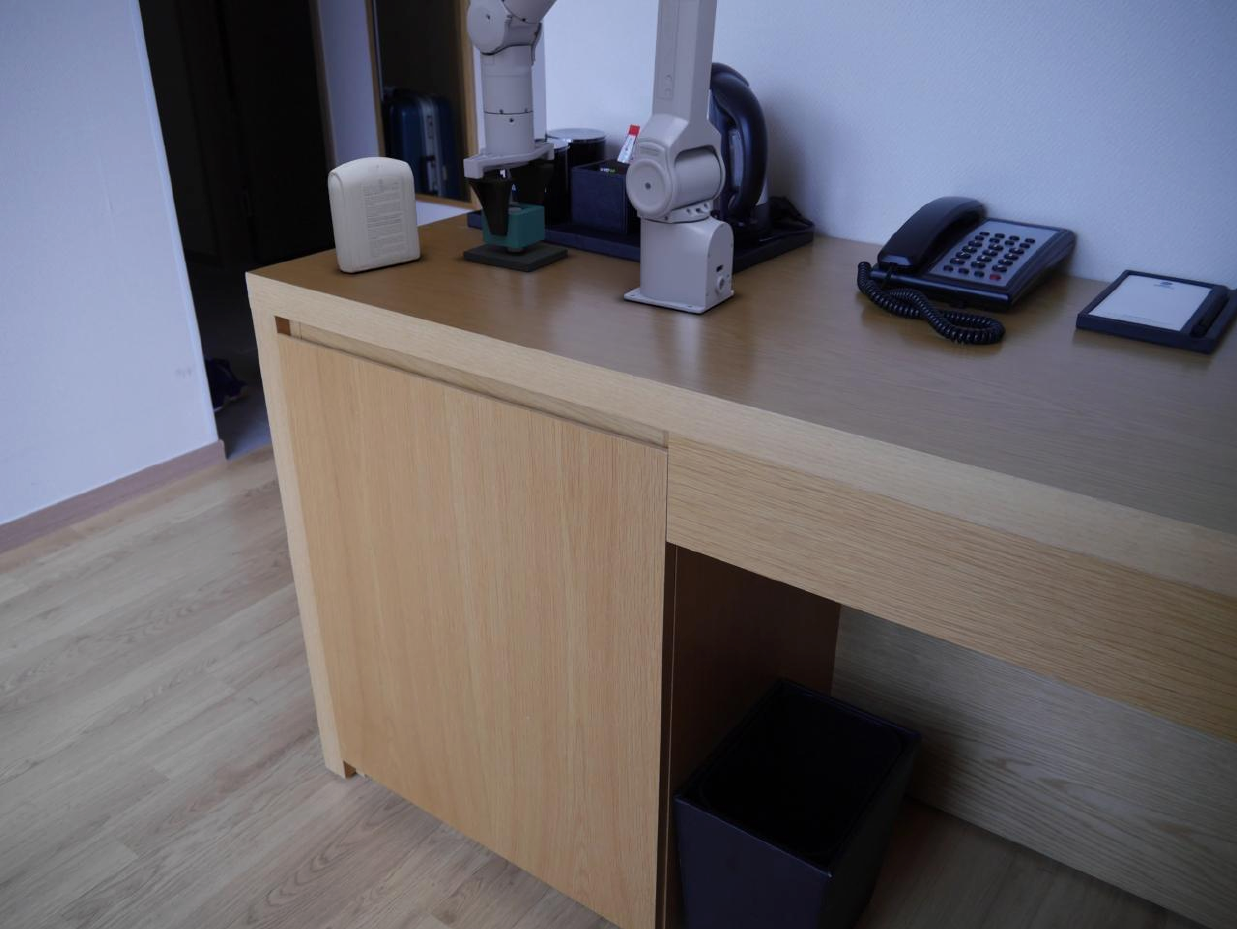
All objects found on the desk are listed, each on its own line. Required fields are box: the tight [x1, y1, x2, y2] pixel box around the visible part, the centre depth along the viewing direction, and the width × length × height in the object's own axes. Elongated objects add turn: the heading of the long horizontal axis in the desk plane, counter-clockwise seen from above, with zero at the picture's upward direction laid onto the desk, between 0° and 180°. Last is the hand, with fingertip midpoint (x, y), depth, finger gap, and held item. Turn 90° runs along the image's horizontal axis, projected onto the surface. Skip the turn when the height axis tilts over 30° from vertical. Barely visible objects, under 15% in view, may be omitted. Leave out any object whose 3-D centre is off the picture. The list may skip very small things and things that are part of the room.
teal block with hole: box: [480, 200, 546, 249], centre depth 116 cm, size 5×5×4 cm
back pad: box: [462, 207, 569, 273], centre depth 117 cm, size 10×8×6 cm
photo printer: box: [327, 156, 421, 274], centre depth 113 cm, size 10×4×12 cm, turn 134°
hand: (514, 229), depth 116 cm, fingers closed on teal block with hole, 5 cm apart
